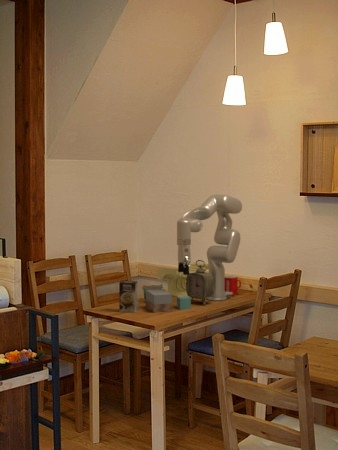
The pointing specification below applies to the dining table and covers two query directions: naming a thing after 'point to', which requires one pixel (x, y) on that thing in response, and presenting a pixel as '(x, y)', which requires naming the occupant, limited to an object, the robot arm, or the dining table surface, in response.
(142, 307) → the dining table surface
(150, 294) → the white box
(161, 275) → the slatted curved stool
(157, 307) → the base block
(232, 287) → the mug
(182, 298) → the teal cube
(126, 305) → the coffee box
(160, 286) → the food container
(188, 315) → the dining table surface
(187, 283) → the tabletop clock
